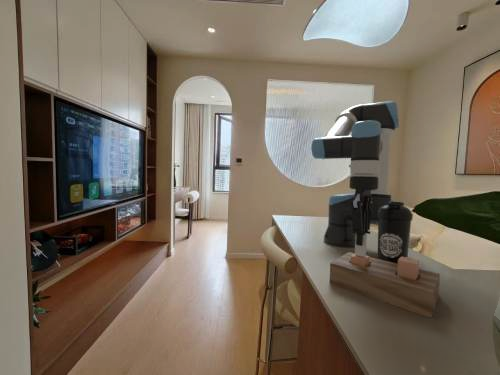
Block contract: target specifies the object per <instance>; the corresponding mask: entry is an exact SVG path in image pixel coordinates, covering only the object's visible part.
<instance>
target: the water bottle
mask: <svg viewBox="0 0 500 375" xmlns="http://www.w3.org/2000/svg"><path fill="white" fill-rule="evenodd" d="M385 204H386V205H384V206H382V207H381V208H380V209H379V210H378V211H377V216H378V225H377V226H378V227H377V259H379V260H384V261H388V262H392V263H396V264H398V259H399V258H400V257H401V256H402V257H407V258H409V247H410V235H411V227H412V226H411V224H412V220H413V217H414V216H413V215H414V213H413V212H412V211H411V209H410V208H408V207H407V206H405V203H404V202H403V201H395V202H391V203H385Z"/></svg>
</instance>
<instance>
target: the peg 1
mask: <svg viewBox="0 0 500 375" xmlns="http://www.w3.org/2000/svg"><path fill="white" fill-rule="evenodd" d="M370 256H371V255H367V254H366V256H365V257H361V256H357V255H355V253H354V254H353V255H352V256H351V263H353V264H357V265H360V266H364V267H367V266H368V265H369V260H370Z"/></svg>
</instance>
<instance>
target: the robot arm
mask: <svg viewBox="0 0 500 375" xmlns="http://www.w3.org/2000/svg"><path fill="white" fill-rule="evenodd" d="M399 121H400V120H399V111H398V104H397V102H396V101H395V100H388V101H379V102H372V103H364V104H358V105H354V106H351V107H349V108H348V109H346V110H343V111H342V112H341V113H339V115H338V116H337V117H336V119H335V120H334V124H333V126H332V127H331V129H329V131H328V132H327V133H326V135H325V136H324V137H322V136H321V137H315V138H314V139H313V140H312V142H311V155H312V157H313V158H314V159H319V160H320V159H321V160H328V159H329V160H330V159H331V160H332V159H333V160H334V159H350V164H349V165H348V168H350V170H349V173H350V175H352V176H350V177H349V189H351V190H354V191H355V192H354V193H340V194H333V195H330V196H329V199H328V200H329V201H328V218H327V219H328V221H327V226H326V227H327V228H326V230H325V232H324V235H323V242H324V243H325V242H326V243H325V244H327V243H328V245H330V246H332V247H333V246H334V247H340V248H354V254H355V255H357V256H361V257H365V256H366V255H367V242H368V235H371V231H370V229H371V225H376V226H378V216H377V211H378V210H379V209H380V208H381V207H382V206H384V205H386V204H385V203H391V202H396V200H395V198H392V194H391V193H390V192H389V191H388V188H389V186H388V184H389V182H388V181H389V167H390V148H391V136H392V135H393V134H395V131H396V130H397V129H398V128H399V126H400V125H399V124H400V122H399Z"/></svg>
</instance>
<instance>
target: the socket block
mask: <svg viewBox="0 0 500 375" xmlns="http://www.w3.org/2000/svg"><path fill="white" fill-rule="evenodd" d="M353 254H355V252H354V253H353V252H349V251H348V252H347V253H345V254H343V255H342V256H340V257H338V258H336V259H334V260H333V261H331V262H330V263H329V284H331V285H334V286H337V287H340V288H344V289H346V290H348V291H352V292H355V293H358V294H361V295H364V296H366V297H370V298H372V299H376V300H378V301H380V302H384V303H387V304H390V305H391V306H396V307H398V308H401V309H405V310H408V311H410V312H413V313H415V314H419V315H421V316H425V317H428V318H430V319H432V317H433V315H434V311H435V308H436V305H437V302H438V298H439V293H440V292H439V290H440V279H441V278H440V277H441V276H440V275H441V273H437V272H434V271H429V270H425V269H421V268H419V272H418V281H417V280H413V279H409V278H405V277H402V276H398V275H397V269H398V264H396V263H392V262H388V261H384V260H379V259H378V258H374V257H370V260H369V265H368V266H367V267H364V266H360V265H357V264H353V263H351V256H352V255H353Z"/></svg>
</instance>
